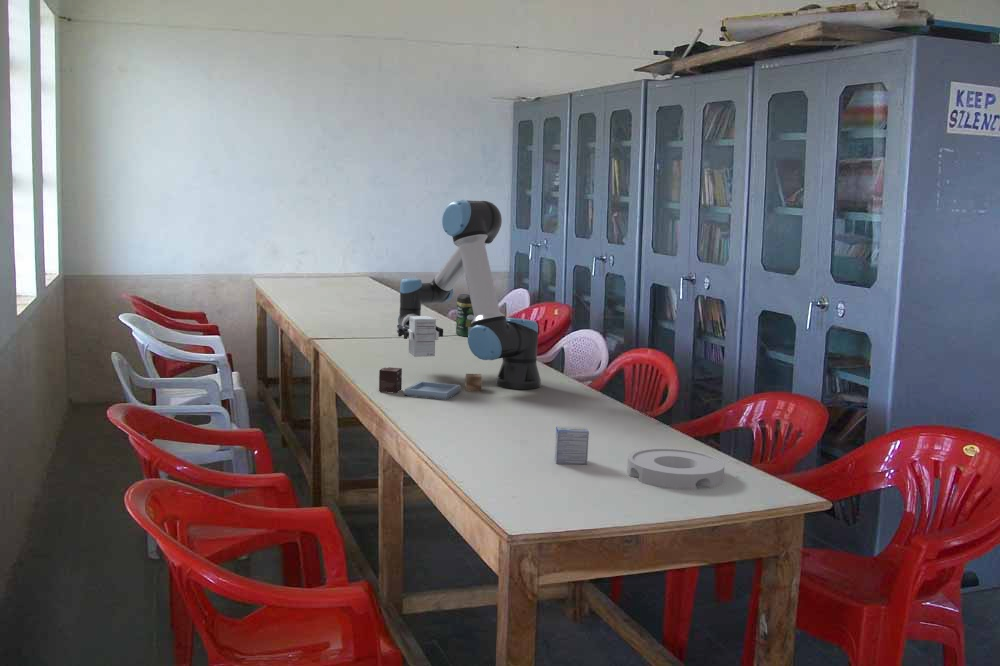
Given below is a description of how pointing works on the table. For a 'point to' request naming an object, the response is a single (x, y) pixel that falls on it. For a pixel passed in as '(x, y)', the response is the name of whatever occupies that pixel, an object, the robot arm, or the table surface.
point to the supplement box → (422, 336)
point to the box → (390, 379)
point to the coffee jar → (464, 315)
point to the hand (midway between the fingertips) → (424, 336)
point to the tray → (432, 390)
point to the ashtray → (675, 468)
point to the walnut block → (473, 382)
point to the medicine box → (571, 445)
